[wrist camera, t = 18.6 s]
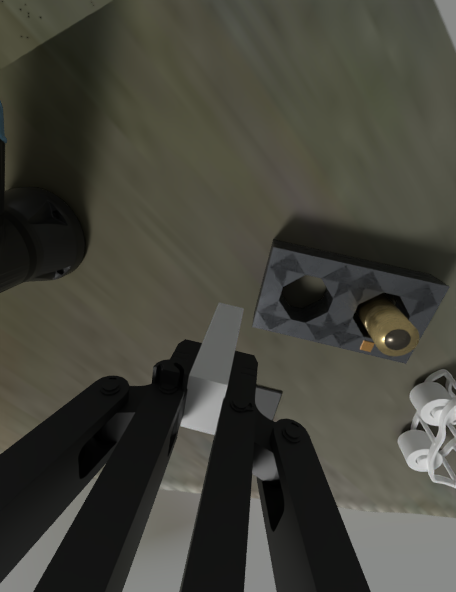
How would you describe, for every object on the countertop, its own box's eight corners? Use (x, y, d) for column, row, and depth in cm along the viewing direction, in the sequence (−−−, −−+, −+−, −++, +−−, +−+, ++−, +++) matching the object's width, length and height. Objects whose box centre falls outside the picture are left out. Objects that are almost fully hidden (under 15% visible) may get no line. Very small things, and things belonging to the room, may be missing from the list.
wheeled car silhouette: (410, 366, 49) (432, 397, 42) (482, 370, 47) (516, 402, 41) (390, 448, 57) (405, 485, 50) (451, 454, 55) (475, 492, 48)
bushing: (348, 312, 47) (369, 351, 36) (360, 285, 44) (385, 318, 34) (379, 319, 46) (408, 360, 36) (392, 292, 44) (427, 327, 34)
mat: (201, 424, 62) (200, 426, 61) (211, 374, 56) (211, 376, 55) (264, 440, 61) (264, 442, 60) (281, 392, 55) (281, 394, 55)
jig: (254, 312, 49) (252, 327, 44) (273, 239, 44) (273, 247, 39) (393, 345, 48) (406, 364, 43) (430, 274, 42) (450, 287, 38)
